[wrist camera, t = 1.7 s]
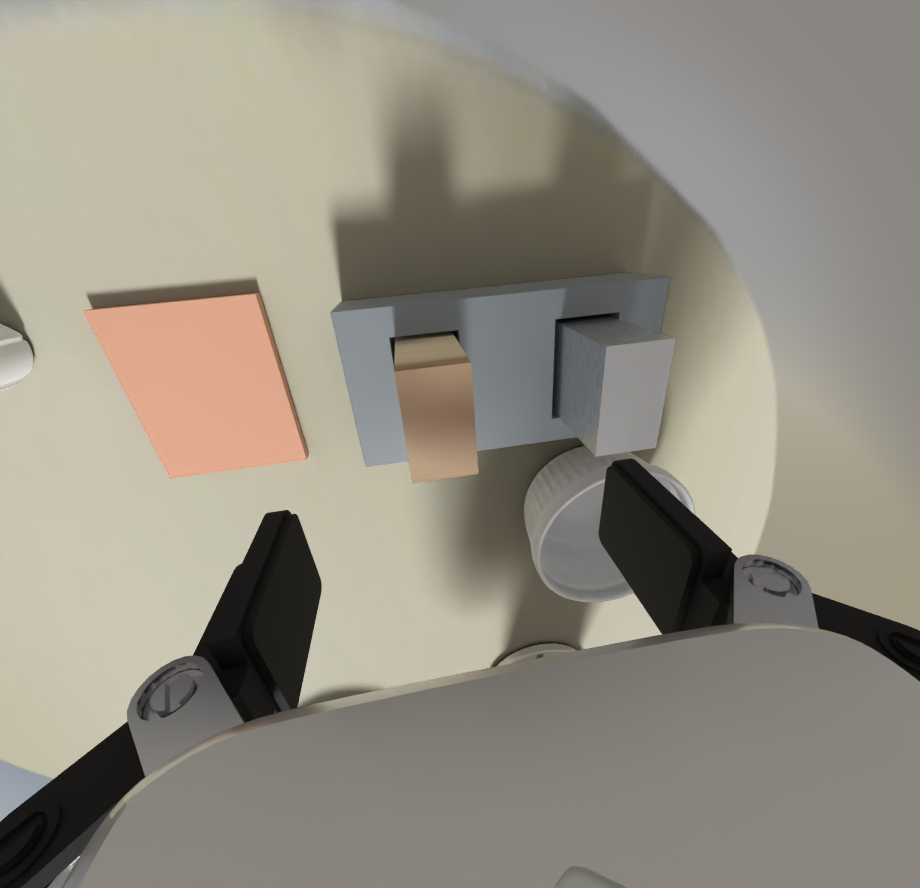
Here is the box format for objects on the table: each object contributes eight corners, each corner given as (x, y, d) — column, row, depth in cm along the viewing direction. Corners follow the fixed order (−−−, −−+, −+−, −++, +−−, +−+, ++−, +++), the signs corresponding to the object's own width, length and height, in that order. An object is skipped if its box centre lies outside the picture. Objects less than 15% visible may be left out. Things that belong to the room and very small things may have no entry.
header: (611, 402, 32) (645, 427, 28) (370, 434, 30) (365, 467, 26) (626, 272, 27) (669, 277, 23) (341, 301, 26) (330, 312, 21)
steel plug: (575, 384, 31) (656, 447, 21) (533, 389, 31) (595, 456, 21) (580, 306, 28) (676, 338, 18) (534, 311, 28) (606, 346, 18)
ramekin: (557, 409, 32) (595, 448, 26) (674, 456, 36) (731, 499, 30) (488, 530, 37) (506, 587, 31) (598, 559, 41) (633, 615, 35)
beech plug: (452, 400, 30) (478, 473, 20) (407, 405, 30) (412, 483, 20) (445, 320, 27) (471, 362, 17) (395, 326, 27) (394, 371, 17)
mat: (308, 454, 30) (306, 459, 30) (175, 472, 29) (169, 478, 29) (259, 292, 25) (255, 294, 24) (92, 308, 24) (83, 310, 23)
